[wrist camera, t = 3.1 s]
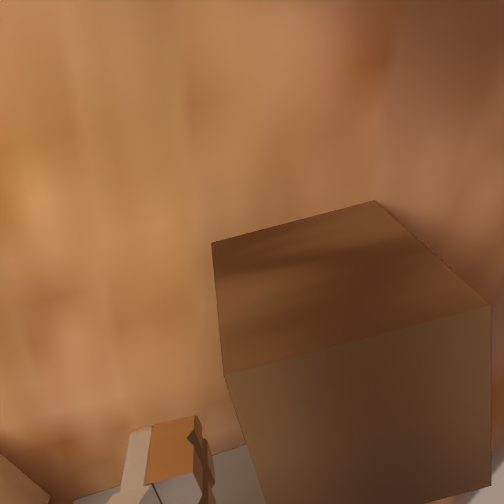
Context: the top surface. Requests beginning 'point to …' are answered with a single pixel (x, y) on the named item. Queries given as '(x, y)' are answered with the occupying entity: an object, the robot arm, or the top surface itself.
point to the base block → (226, 481)
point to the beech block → (18, 486)
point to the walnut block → (354, 361)
